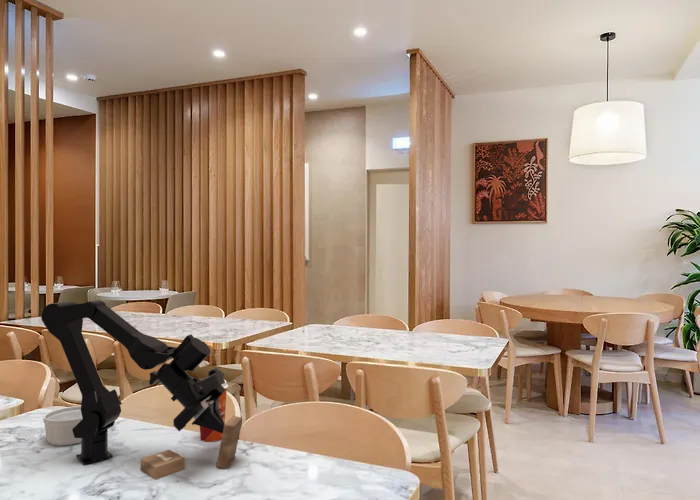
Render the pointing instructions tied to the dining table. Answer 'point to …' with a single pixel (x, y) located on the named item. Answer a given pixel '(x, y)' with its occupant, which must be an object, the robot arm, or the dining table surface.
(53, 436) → the ramekin
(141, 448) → the dining table surface
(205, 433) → the coffee cup
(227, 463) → the wooden block
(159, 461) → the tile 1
